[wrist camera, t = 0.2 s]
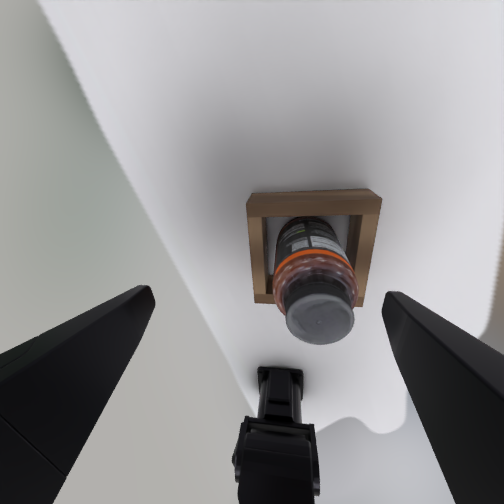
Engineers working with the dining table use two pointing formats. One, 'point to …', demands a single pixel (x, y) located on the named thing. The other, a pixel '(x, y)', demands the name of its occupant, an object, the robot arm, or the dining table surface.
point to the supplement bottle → (314, 282)
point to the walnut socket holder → (313, 204)
